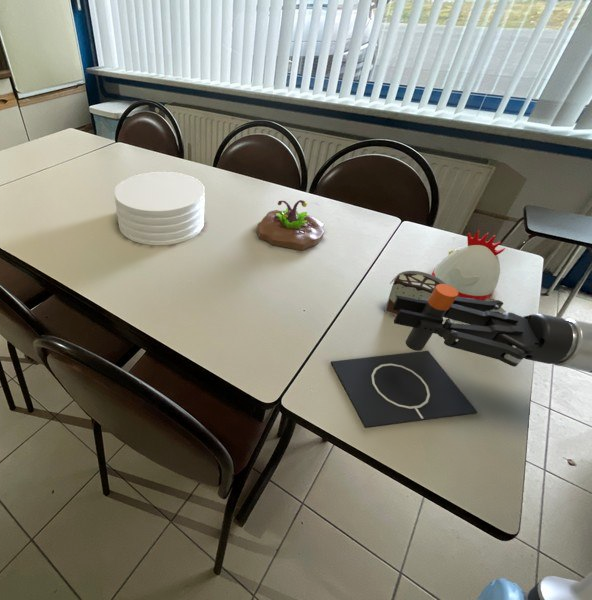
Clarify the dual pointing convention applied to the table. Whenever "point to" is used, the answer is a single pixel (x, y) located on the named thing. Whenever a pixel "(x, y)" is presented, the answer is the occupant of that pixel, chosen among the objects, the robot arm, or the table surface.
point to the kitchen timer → (472, 268)
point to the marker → (435, 307)
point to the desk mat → (400, 389)
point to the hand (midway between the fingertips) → (396, 309)
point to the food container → (411, 287)
